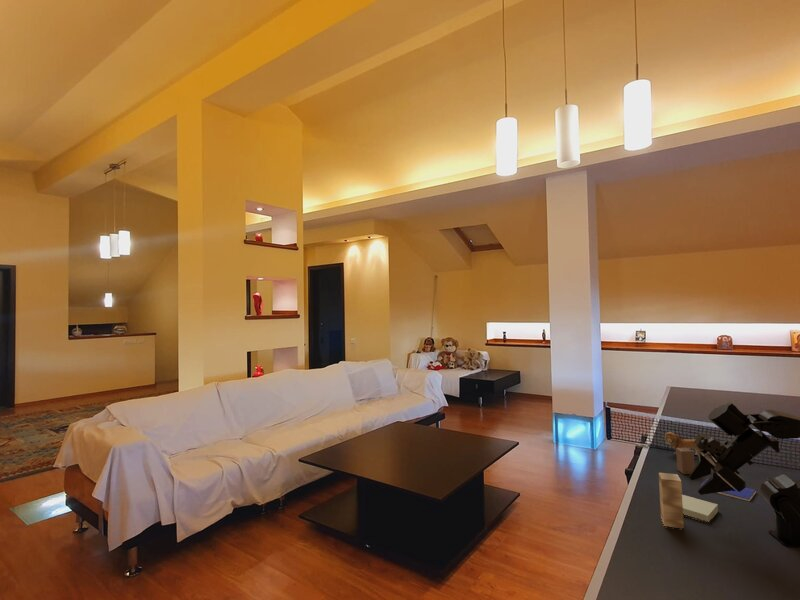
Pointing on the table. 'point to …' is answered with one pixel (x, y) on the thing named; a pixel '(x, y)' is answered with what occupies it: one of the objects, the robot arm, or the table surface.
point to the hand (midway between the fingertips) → (694, 485)
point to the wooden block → (685, 460)
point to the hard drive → (739, 493)
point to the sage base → (699, 508)
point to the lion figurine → (680, 442)
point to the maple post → (671, 500)
